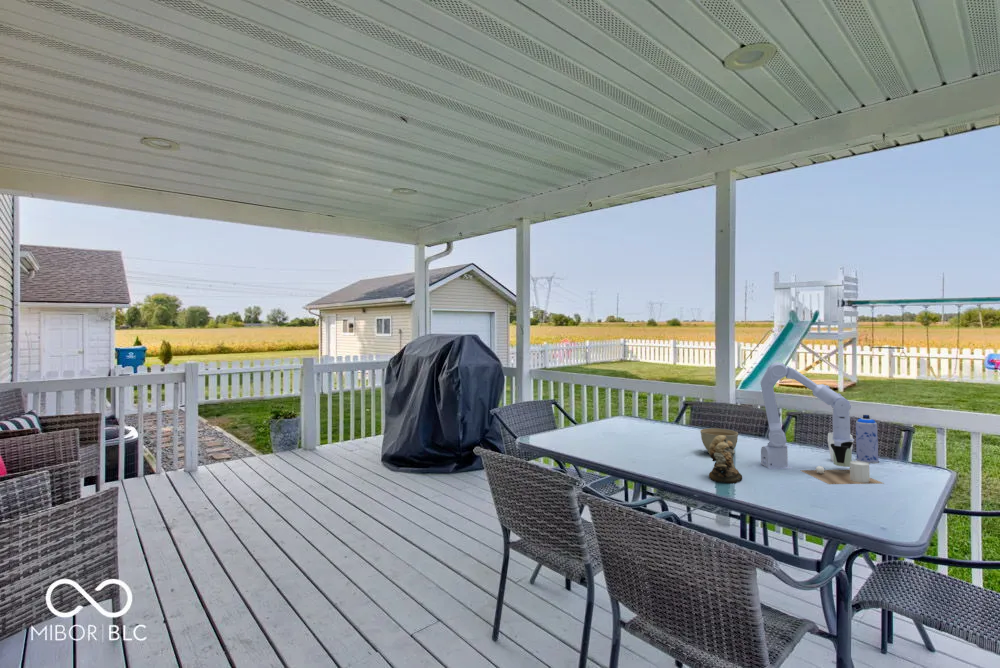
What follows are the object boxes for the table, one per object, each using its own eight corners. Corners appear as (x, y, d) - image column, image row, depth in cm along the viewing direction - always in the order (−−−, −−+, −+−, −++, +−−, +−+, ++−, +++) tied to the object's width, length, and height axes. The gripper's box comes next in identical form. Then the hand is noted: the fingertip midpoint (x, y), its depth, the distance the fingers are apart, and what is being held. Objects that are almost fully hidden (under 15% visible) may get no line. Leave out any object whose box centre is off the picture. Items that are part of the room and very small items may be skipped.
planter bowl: (727, 461, 212) (726, 436, 212) (694, 454, 225) (693, 431, 225) (745, 455, 222) (744, 431, 222) (712, 448, 235) (712, 426, 235)
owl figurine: (740, 487, 177) (739, 441, 177) (706, 483, 183) (704, 438, 183) (743, 473, 193) (741, 431, 193) (711, 470, 199) (710, 429, 199)
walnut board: (829, 485, 176) (829, 484, 176) (799, 471, 194) (799, 470, 194) (884, 484, 175) (884, 483, 175) (850, 470, 193) (850, 469, 193)
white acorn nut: (857, 482, 177) (857, 464, 177) (847, 478, 182) (846, 460, 182) (873, 482, 176) (872, 464, 176) (862, 477, 182) (861, 460, 182)
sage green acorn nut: (840, 466, 187) (839, 450, 187) (830, 463, 193) (830, 446, 193) (854, 466, 187) (854, 449, 187) (844, 462, 193) (844, 446, 193)
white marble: (818, 474, 187) (818, 467, 187) (814, 472, 190) (813, 465, 190) (826, 474, 187) (826, 467, 187) (821, 472, 190) (821, 465, 190)
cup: (858, 463, 203) (857, 435, 203) (844, 466, 200) (843, 437, 200) (837, 458, 212) (836, 431, 212) (823, 460, 208) (822, 433, 208)
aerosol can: (871, 458, 210) (869, 413, 210) (883, 463, 202) (882, 416, 202) (852, 458, 211) (850, 413, 211) (863, 463, 203) (862, 416, 203)
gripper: (849, 431, 182) (850, 466, 182) (857, 425, 192) (858, 459, 192) (827, 428, 188) (828, 463, 187) (836, 423, 197) (837, 456, 197)
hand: (842, 461), depth 190 cm, fingers closed on sage green acorn nut, 6 cm apart
